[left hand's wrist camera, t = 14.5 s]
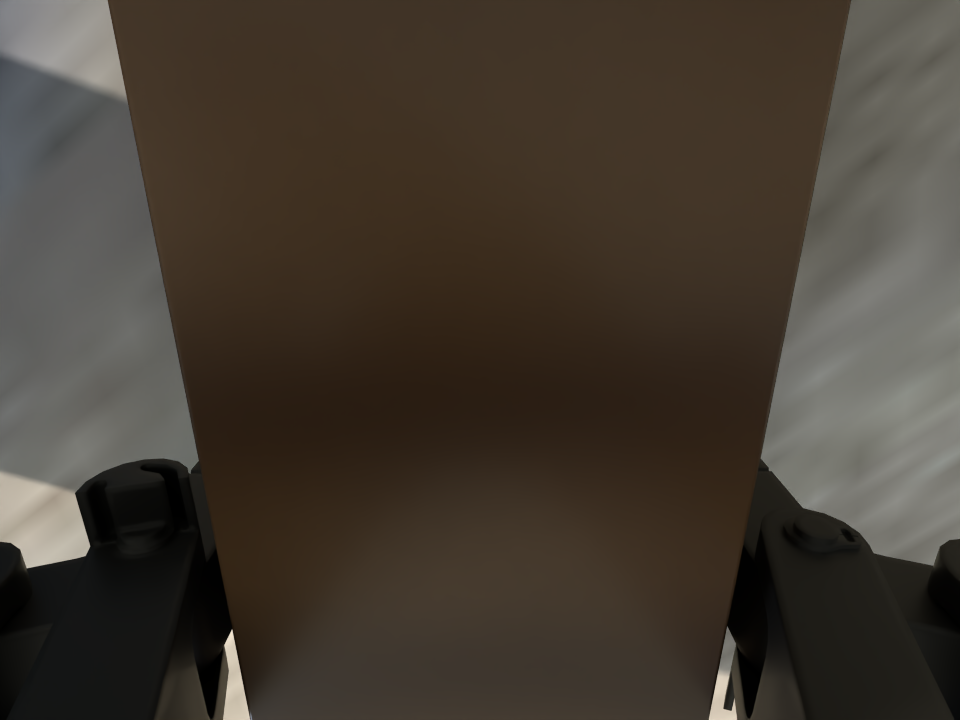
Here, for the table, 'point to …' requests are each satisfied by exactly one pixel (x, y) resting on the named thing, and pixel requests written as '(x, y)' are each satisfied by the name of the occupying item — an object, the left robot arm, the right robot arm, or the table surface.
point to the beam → (479, 331)
